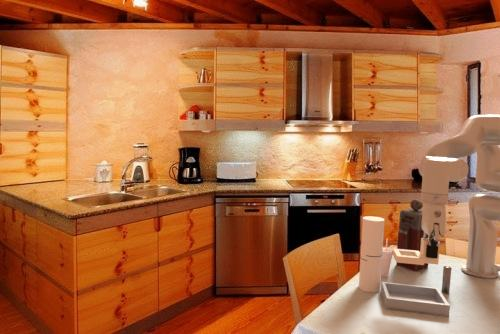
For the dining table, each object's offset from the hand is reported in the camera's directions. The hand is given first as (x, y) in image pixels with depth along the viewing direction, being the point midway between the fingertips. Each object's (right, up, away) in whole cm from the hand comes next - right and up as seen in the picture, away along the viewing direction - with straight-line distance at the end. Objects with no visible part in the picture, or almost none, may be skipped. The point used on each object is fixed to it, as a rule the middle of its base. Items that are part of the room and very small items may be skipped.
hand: (429, 254), depth 117 cm
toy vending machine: (+9, -14, +35) cm, 39 cm away
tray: (-4, -16, +3) cm, 17 cm away
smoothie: (-5, -14, +27) cm, 31 cm away
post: (+11, -16, +11) cm, 22 cm away
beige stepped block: (-4, -2, +1) cm, 5 cm away
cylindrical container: (-15, -15, +14) cm, 25 cm away
